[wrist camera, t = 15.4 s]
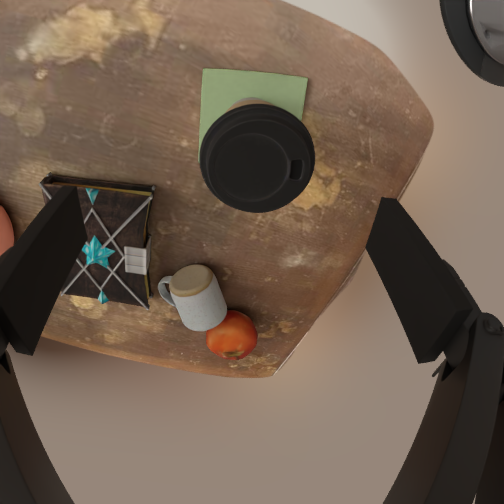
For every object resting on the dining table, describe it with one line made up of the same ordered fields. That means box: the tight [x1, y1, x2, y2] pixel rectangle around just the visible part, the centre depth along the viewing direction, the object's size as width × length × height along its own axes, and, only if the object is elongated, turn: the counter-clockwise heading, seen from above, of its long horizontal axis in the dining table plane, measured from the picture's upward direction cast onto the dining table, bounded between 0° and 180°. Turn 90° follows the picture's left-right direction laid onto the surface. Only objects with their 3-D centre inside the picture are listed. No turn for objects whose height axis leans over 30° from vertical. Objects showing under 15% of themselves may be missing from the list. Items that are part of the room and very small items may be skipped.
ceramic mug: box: [158, 265, 227, 331], centre depth 48 cm, size 11×8×8 cm
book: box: [39, 172, 156, 310], centre depth 43 cm, size 22×17×5 cm
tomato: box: [206, 310, 258, 360], centre depth 55 cm, size 9×9×8 cm
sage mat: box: [198, 68, 308, 162], centre depth 36 cm, size 12×12×1 cm
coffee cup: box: [199, 97, 315, 213], centre depth 30 cm, size 9×9×15 cm
